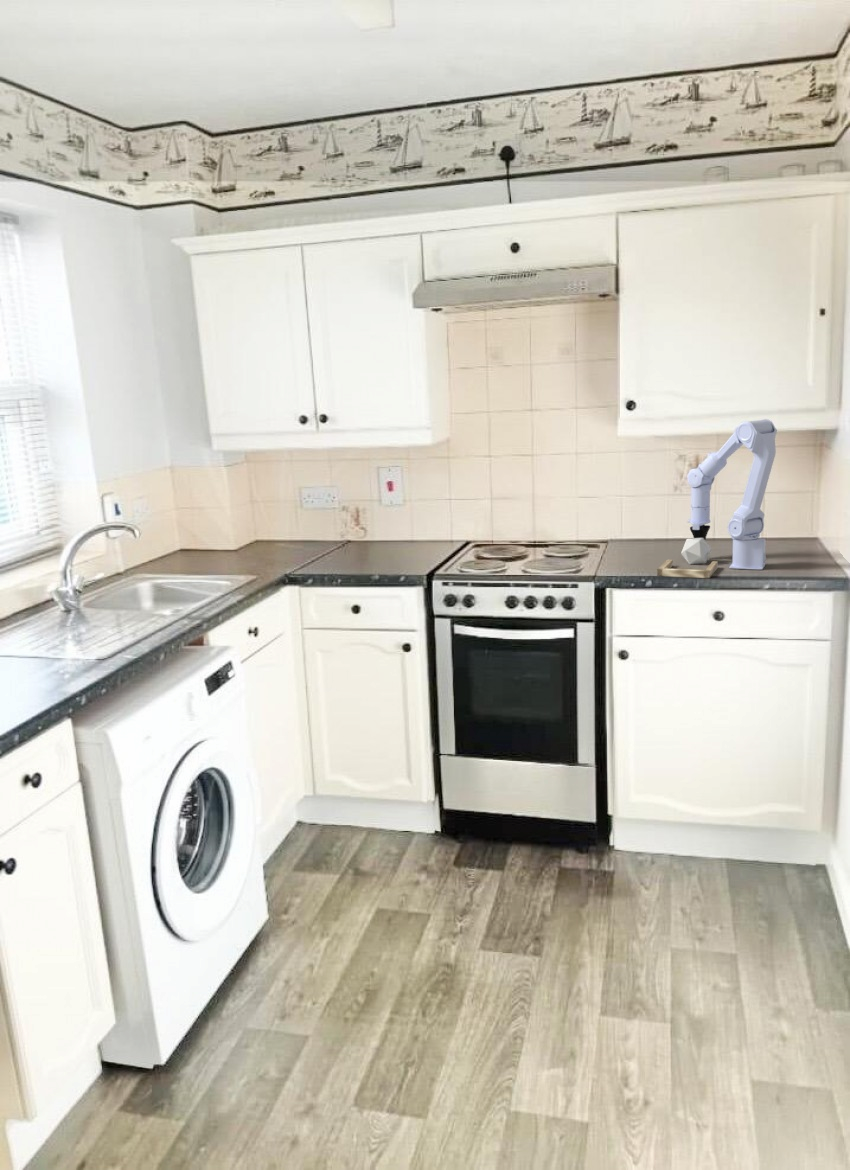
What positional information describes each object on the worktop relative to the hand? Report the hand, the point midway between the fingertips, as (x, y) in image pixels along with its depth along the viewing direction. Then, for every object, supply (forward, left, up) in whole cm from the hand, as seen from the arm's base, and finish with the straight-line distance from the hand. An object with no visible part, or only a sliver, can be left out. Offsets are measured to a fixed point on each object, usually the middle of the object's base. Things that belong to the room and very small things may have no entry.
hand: (699, 548), depth 288 cm
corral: (0, +19, -3) cm, 19 cm away
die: (0, +6, -4) cm, 7 cm away
